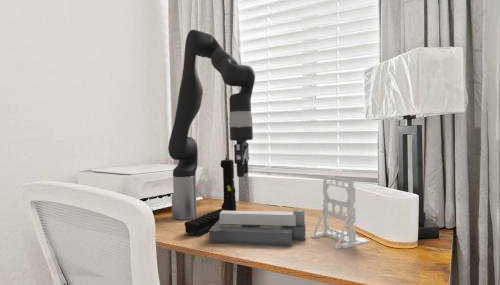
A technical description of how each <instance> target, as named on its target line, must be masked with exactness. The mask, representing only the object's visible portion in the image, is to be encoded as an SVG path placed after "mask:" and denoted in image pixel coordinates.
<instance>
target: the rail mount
mask: <svg viewBox="0 0 500 285" xmlns="http://www.w3.org/2000/svg"><path fill="white" fill-rule="evenodd" d="M221 211H229V210H226V209H222V208H218V210H214V211H211V212H208V213H207V214H203V215H200V216H198V217H195V218H192V219H190V220H187V221H185V222H184V226H185V227H184V229H185V230H184V232H185V234H187V235H188V236H189V235H196V234H197V238H199V237H201V236H203V235H206V234H209V230H210V229H211V228H212V227H213V226H214V225H215V224H216V223H217V222H218V220H219V219H220V212H221Z"/></svg>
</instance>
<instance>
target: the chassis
mask: <svg viewBox="0 0 500 285" xmlns="http://www.w3.org/2000/svg"><path fill="white" fill-rule="evenodd" d="M294 241H306V224H305V225H303V226H280V225H243V224H220V219H219V220H218V222H217V223H216V224H215V225H214V226H212V228H211V229H210V230H209V232H208V243H209V244H221V245H222V244H223V245H224V244H225V245H249V246H251V245H252V246H274V247H275V246H278V247H280V246H281V247H293V242H294Z"/></svg>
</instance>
